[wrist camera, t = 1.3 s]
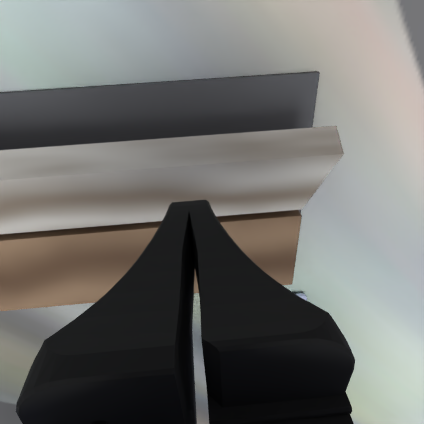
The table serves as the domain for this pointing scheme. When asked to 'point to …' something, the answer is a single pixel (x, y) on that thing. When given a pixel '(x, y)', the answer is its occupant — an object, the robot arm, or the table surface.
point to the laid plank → (123, 257)
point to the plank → (162, 177)
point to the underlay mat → (157, 110)
